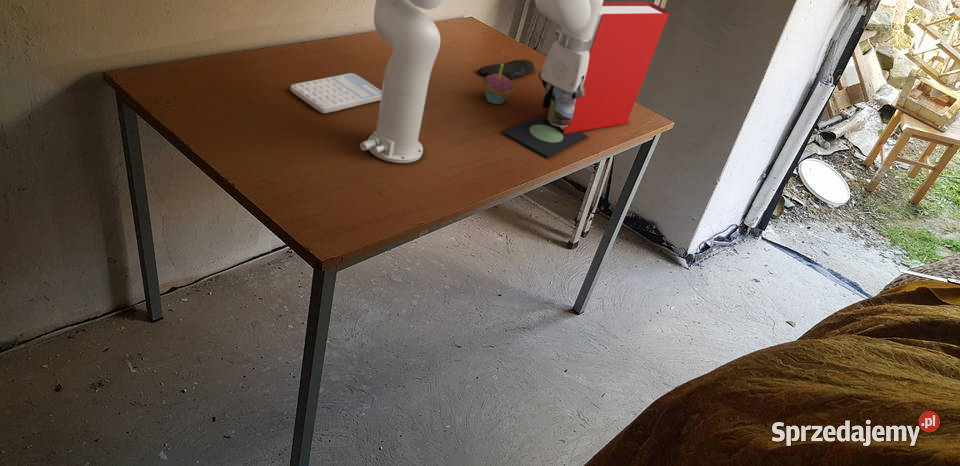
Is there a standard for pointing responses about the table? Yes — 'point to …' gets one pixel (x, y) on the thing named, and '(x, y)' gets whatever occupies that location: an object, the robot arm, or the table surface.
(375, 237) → the table surface
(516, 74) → the wood
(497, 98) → the cupcake
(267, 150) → the table surface
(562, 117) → the beverage can
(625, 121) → the book
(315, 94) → the calculator
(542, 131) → the desk mat
